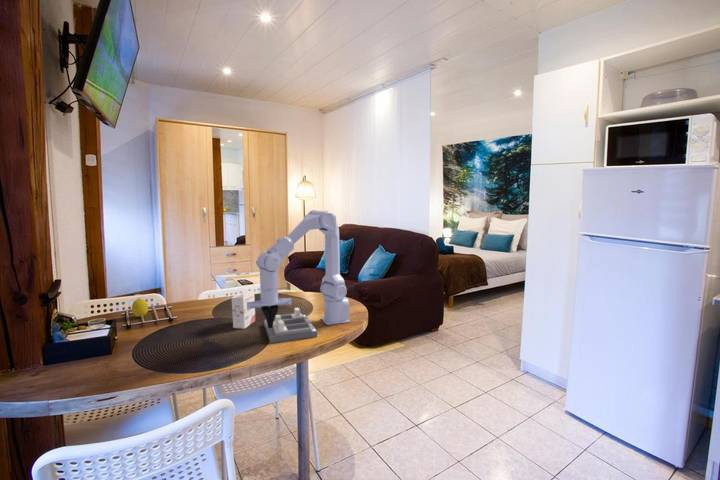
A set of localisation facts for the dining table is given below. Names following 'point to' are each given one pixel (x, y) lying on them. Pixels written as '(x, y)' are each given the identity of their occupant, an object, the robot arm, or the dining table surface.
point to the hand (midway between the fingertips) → (270, 327)
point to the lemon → (139, 307)
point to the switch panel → (292, 329)
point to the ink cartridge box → (243, 308)
